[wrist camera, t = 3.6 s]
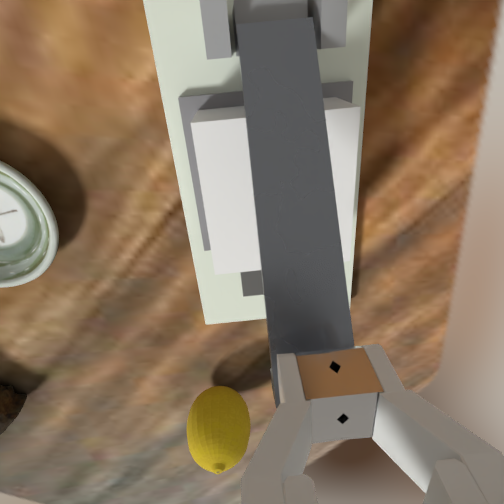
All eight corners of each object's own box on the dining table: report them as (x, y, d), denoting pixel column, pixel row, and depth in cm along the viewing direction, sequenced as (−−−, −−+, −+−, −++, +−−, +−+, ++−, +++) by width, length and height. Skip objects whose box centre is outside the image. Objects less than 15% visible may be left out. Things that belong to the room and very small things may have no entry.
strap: (238, 63, 16) (236, 24, 14) (303, 57, 16) (312, 16, 14) (272, 387, 15) (276, 408, 12) (342, 380, 15) (361, 399, 12)
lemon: (201, 410, 36) (195, 496, 29) (183, 374, 33) (171, 460, 26) (254, 399, 35) (260, 483, 28) (239, 361, 32) (242, 445, 25)
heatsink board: (137, -48, 18) (87, -106, 11) (371, -69, 18) (449, -137, 12) (206, 316, 30) (200, 386, 23) (346, 302, 30) (377, 368, 23)
